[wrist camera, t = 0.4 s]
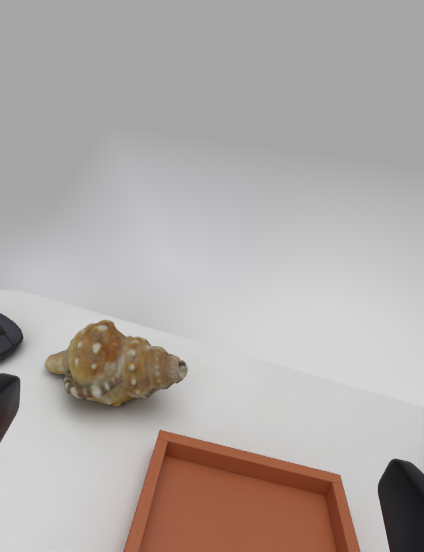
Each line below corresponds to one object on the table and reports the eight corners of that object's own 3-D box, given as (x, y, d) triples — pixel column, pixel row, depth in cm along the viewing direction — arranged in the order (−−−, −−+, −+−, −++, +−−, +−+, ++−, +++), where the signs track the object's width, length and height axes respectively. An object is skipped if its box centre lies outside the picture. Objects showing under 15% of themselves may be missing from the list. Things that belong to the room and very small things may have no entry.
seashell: (141, 383, 38) (200, 331, 33) (112, 456, 31) (182, 404, 26) (65, 333, 36) (117, 270, 31) (16, 399, 29) (73, 331, 24)
